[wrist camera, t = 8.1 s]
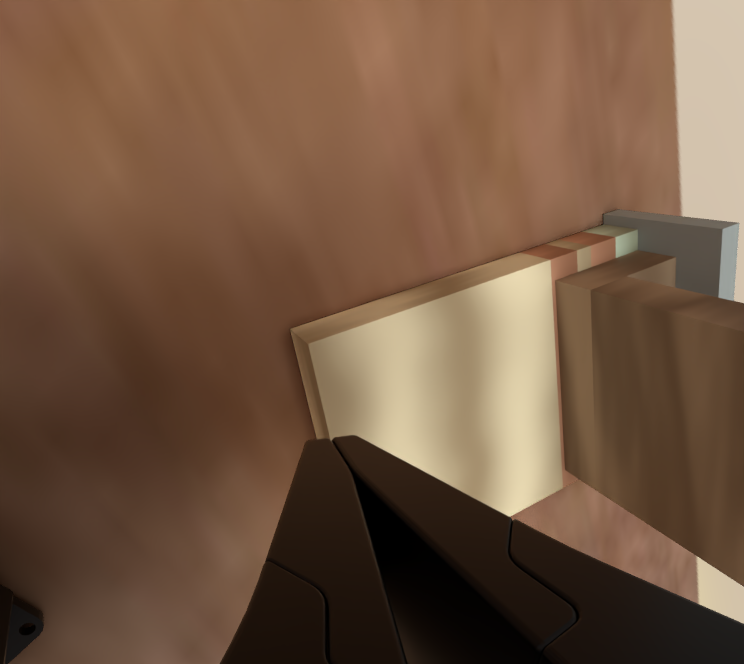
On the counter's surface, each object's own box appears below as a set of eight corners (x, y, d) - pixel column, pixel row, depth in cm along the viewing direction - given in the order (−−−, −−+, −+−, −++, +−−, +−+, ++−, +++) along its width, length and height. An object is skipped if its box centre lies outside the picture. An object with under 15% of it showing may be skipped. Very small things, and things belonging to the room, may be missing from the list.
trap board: (347, 565, 27) (366, 593, 25) (289, 328, 22) (308, 344, 21) (607, 432, 33) (636, 448, 31) (603, 224, 28) (637, 229, 26)
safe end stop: (607, 440, 33) (706, 493, 28) (603, 214, 28) (722, 229, 23) (620, 433, 33) (720, 485, 28) (618, 209, 28) (739, 222, 23)
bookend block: (564, 469, 29) (804, 626, 19) (555, 280, 25) (846, 360, 16) (636, 432, 31) (887, 558, 21) (637, 250, 27) (943, 305, 17)
